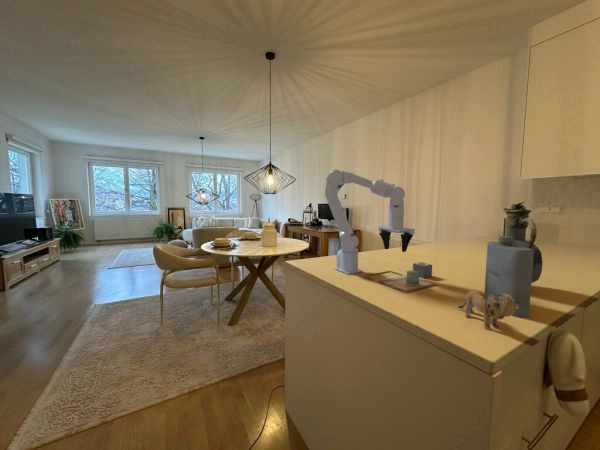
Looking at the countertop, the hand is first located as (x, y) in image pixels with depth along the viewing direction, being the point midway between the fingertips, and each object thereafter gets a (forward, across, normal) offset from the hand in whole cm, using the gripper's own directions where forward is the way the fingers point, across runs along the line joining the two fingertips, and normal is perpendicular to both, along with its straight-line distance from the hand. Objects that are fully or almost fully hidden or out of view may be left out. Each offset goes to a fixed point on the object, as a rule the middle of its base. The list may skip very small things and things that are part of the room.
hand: (395, 250), depth 100 cm
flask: (+11, +36, -4) cm, 38 cm away
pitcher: (+11, +35, +17) cm, 40 cm away
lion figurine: (+11, +36, -20) cm, 42 cm away
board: (+10, +5, -6) cm, 13 cm away
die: (+10, +8, +8) cm, 15 cm away
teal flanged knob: (+10, +11, -7) cm, 16 cm away
